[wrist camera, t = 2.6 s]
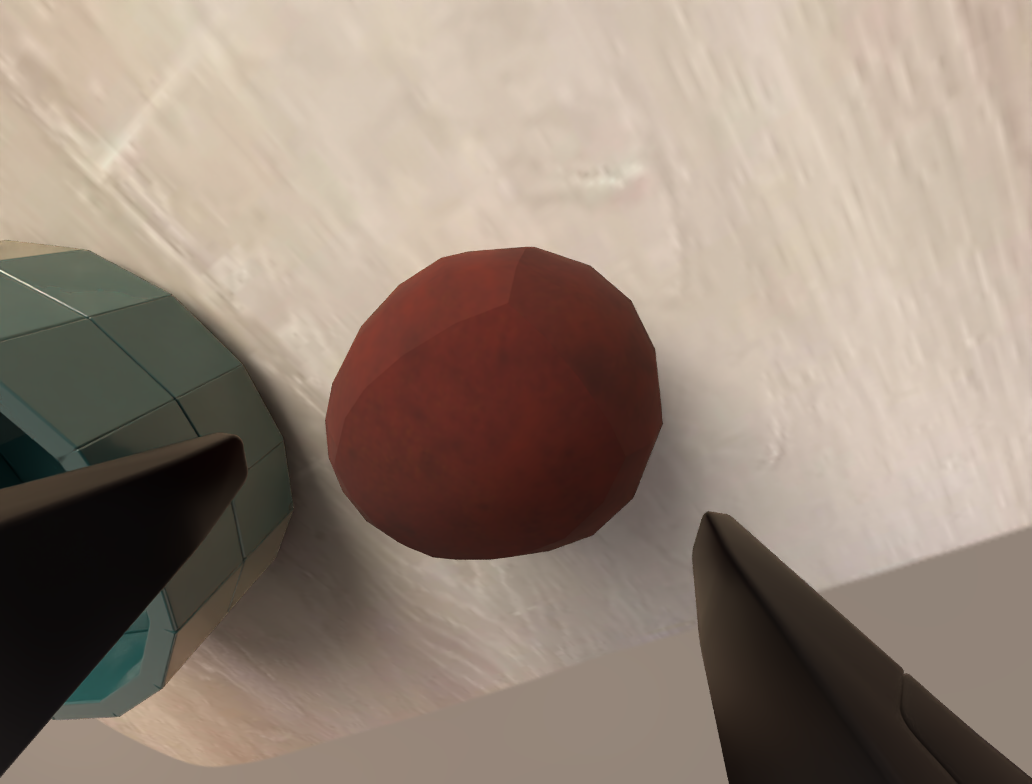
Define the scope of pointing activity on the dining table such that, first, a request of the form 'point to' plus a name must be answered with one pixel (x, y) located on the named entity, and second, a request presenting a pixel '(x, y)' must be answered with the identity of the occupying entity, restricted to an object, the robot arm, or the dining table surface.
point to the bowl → (133, 437)
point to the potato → (495, 406)
